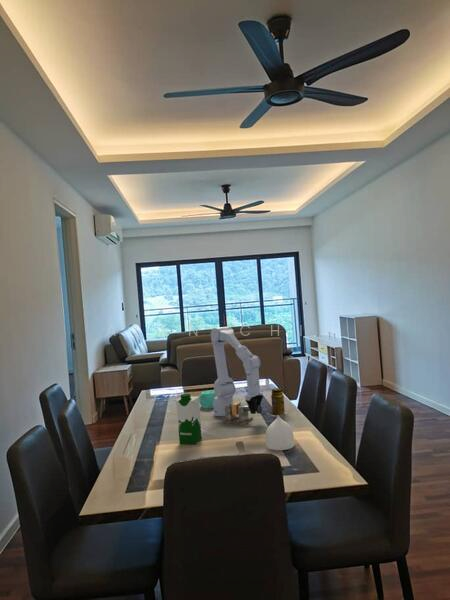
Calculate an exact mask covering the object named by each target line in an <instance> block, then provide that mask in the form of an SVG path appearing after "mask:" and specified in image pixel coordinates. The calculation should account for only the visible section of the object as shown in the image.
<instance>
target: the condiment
mask: <svg viewBox="0 0 450 600" xmlns="http://www.w3.org/2000/svg"><path fill="white" fill-rule="evenodd" d="M283 393H284V392H283V388H281V387H280V388H279V387H277V388H272V389H271V395H270V396H271V411H270V412H267V413H266V412H265V413H266V415H268V416H271V417H276V418H277V416H278V415H279V417H280V416H283V415H287V414H288V412H286V411H285V397H284V394H283Z"/></svg>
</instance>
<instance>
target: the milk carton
mask: <svg viewBox="0 0 450 600" xmlns="http://www.w3.org/2000/svg"><path fill="white" fill-rule="evenodd" d="M199 400H200V396H198V395H197V396H191V394H190V393H182V394H180V397H179V398H177V399H176V400H175V404H176V410H177V411H176V412H177V413H176V414H177V425H178V426H177V427H178V441H179V445H197V444H198V443H199V442H200V441H201V440H202V439H203V437H202V427H201V426H202V425H201V411H200V402H199Z"/></svg>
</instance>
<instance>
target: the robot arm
mask: <svg viewBox="0 0 450 600" xmlns="http://www.w3.org/2000/svg"><path fill="white" fill-rule="evenodd" d="M210 338H211V339H210V340H211V343H212V348H213V354H214V361H215V367H216V375H217V379H216V380H215V381H214V383H213V384H214V387H213V391H214V393H215V395H216V397H215V398H214V401H213V406H214V408H213V416H215V417H225V406H229V404H230V403H233V404H234V399H233V397H234V396H235V395H234V394H235V393H236V385H235V383H234V380H233V378H232V377H229V372H228V370H229V369H228V365H227V357H226V351H225V345H226V343H228V344H229V345H230V346H231V347H232V348H233V349H234V350H235V354H236V356H237V357H238V358H239V360H241V362H242V364H243V365H242V366H243V368H244V373H245V375H246V385H247V386H246V387H247V393H246V394H245V396H244V398H245V399H244V400H245V402H246V404H248V406H249V409H250V411H249V412H250V414H252V415H255V414H256V413H257V412H256V407H257V405H261V404H262V400H263V398H264V394H263V389H262V388H261V386H260V371H259V368H261V365H262V362H261V359H260V357H259V356H258V355H254V354H253V353H252V352H251V351H250V350H249V349H248V347H247V346H245V345H242V344H241V342H240V341H239V340H238V339H237V336H235V331H234V329H233V328H232V327H231V326H230V325H227V326H221V327H213V328H212V329H211V332H210ZM261 406H262V405H261Z"/></svg>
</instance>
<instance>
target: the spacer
mask: <svg viewBox="0 0 450 600" xmlns="http://www.w3.org/2000/svg"><path fill="white" fill-rule="evenodd" d="M241 403H242V402H239V401H236V402H233V404H232V415H235V416H238V410H237V406H238V405H241V406H242V404H241Z"/></svg>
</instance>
